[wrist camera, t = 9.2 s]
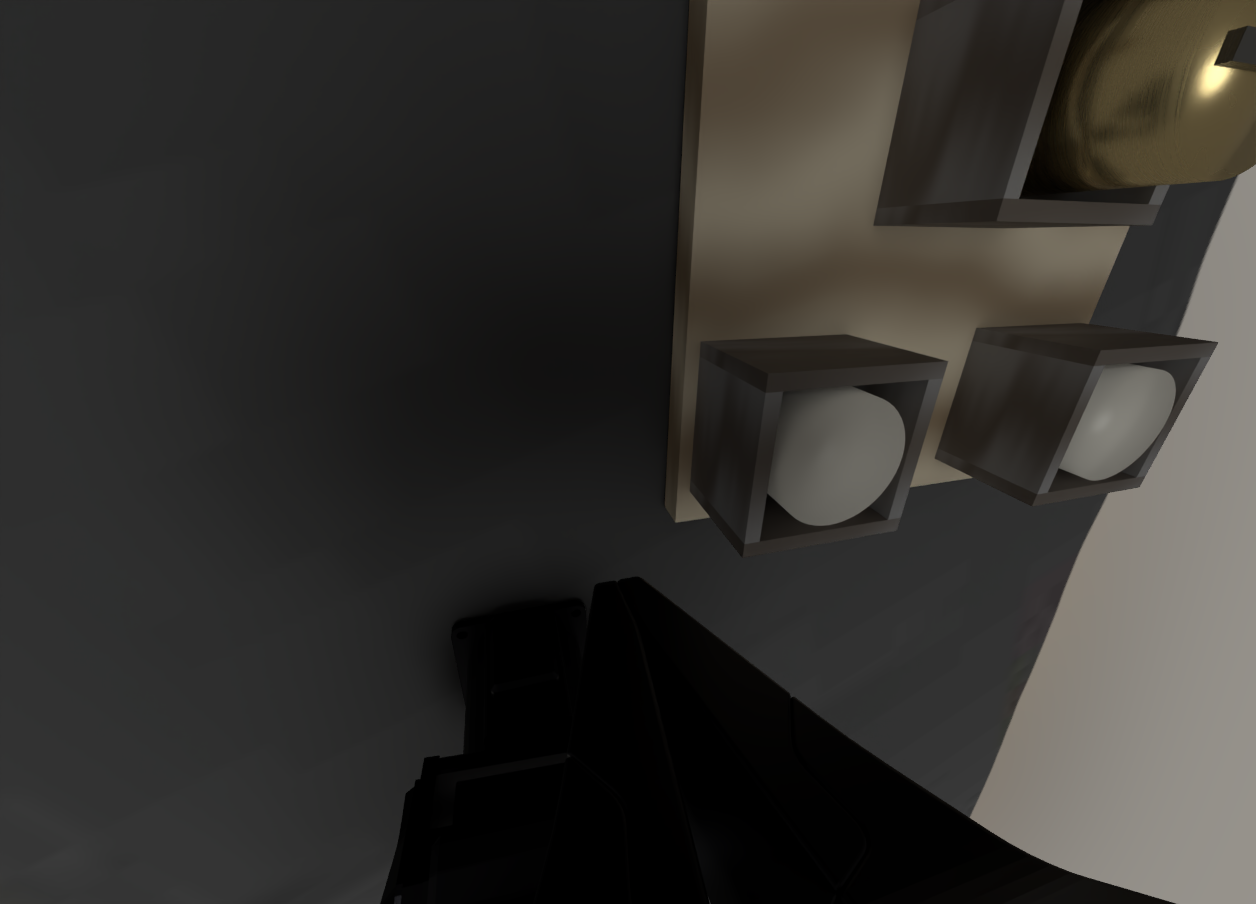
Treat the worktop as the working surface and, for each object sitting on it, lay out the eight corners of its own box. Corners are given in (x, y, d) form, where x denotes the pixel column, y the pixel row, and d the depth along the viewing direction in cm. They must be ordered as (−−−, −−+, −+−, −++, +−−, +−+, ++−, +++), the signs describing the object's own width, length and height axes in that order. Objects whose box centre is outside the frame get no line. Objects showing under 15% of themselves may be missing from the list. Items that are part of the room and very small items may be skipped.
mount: (1002, 458, 28) (1132, 514, 22) (664, 506, 23) (723, 595, 17) (1165, 41, 20) (1438, -40, 14) (691, -40, 14) (824, -224, 9)
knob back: (1026, 433, 25) (1138, 473, 21) (954, 442, 24) (1058, 487, 20) (1063, 342, 23) (1196, 365, 19) (986, 346, 22) (1110, 373, 18)
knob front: (806, 460, 22) (885, 515, 18) (710, 472, 21) (769, 535, 16) (826, 356, 20) (921, 389, 15) (720, 362, 19) (791, 401, 14)
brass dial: (1067, 199, 17) (1289, 183, 12) (959, 194, 15) (1161, 175, 11) (1131, 20, 15) (1430, -82, 10) (1013, -2, 13) (1291, -129, 9)
